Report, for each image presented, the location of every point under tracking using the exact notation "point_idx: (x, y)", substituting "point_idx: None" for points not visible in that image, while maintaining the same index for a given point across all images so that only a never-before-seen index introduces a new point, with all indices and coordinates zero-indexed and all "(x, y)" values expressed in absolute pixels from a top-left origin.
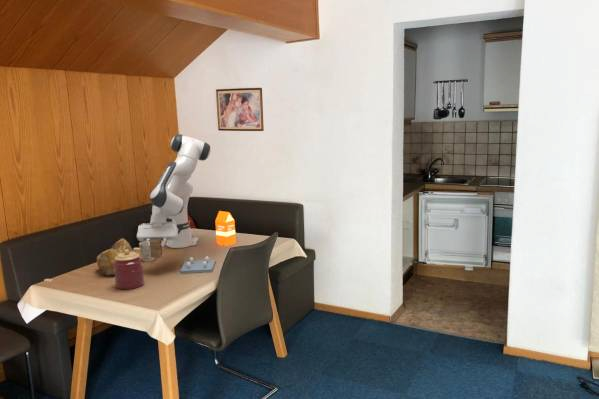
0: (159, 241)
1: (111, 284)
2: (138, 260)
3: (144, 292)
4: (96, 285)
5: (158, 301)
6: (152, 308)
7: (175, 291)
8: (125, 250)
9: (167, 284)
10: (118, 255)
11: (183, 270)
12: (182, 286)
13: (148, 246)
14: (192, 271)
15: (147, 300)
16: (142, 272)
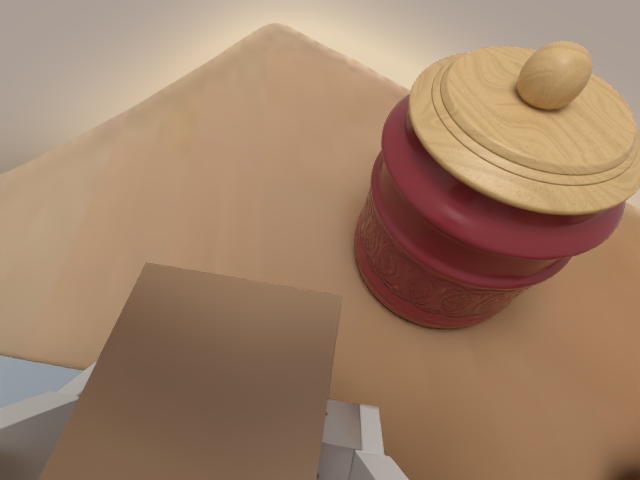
0: (132, 310)
1: (548, 301)
2: (403, 111)
3: (333, 147)
4: (635, 312)
5: (272, 65)
6: (291, 33)
7: (199, 120)
8: (570, 42)
9: (224, 205)
10: (606, 87)
11: (68, 374)
12: (156, 160)
13: (371, 406)
14: (8, 357)
15: (312, 81)
16: (366, 205)
